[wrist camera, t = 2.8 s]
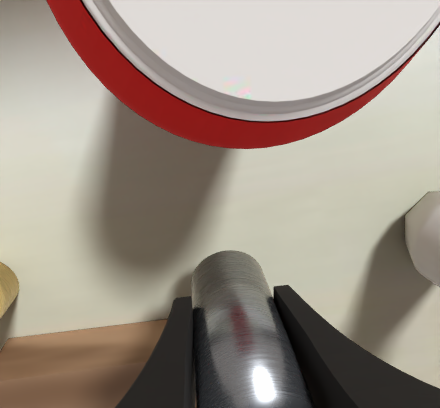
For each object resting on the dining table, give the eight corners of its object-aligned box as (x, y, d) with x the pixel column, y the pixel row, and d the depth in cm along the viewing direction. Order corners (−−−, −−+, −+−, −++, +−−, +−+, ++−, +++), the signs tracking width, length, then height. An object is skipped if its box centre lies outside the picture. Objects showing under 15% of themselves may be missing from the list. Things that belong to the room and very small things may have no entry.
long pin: (263, 306, 16) (318, 467, 9) (194, 314, 16) (203, 486, 9) (263, 246, 15) (326, 387, 8) (187, 254, 14) (192, 406, 8)
